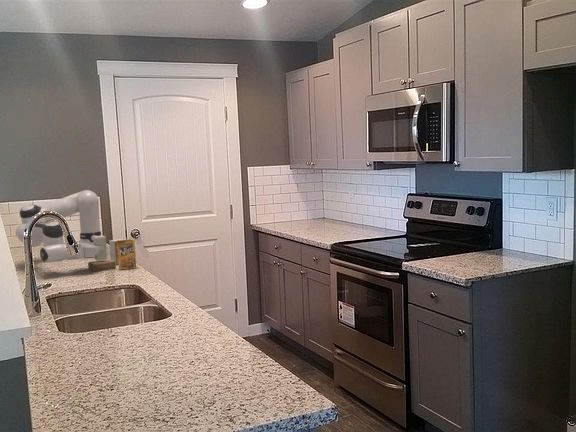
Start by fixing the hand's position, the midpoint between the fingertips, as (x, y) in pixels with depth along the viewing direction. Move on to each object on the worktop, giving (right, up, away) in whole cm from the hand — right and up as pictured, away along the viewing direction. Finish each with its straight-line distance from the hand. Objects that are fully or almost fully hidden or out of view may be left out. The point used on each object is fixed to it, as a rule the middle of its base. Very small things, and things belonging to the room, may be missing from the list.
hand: (101, 246), depth 308 cm
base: (0, -12, +1) cm, 12 cm away
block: (0, -7, 0) cm, 7 cm away
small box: (+5, -10, +15) cm, 19 cm away
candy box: (+14, -11, -1) cm, 18 cm away
